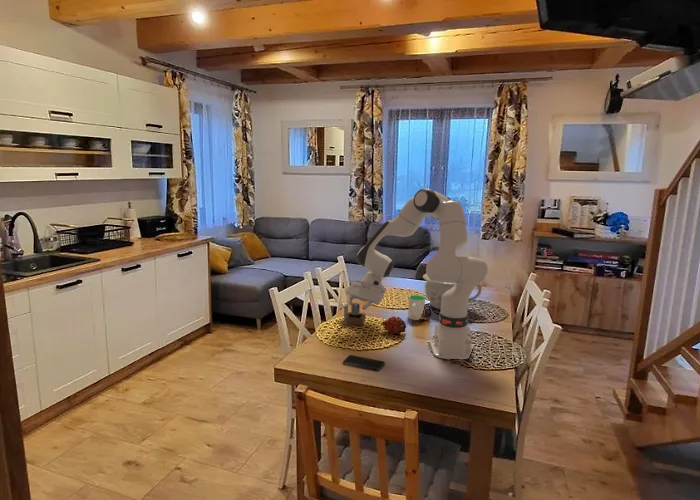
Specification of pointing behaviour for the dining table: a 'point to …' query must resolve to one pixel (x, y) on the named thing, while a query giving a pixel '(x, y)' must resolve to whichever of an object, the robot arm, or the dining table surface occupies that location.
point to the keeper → (353, 320)
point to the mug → (416, 306)
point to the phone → (364, 363)
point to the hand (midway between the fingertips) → (356, 306)
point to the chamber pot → (440, 291)
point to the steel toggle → (355, 310)
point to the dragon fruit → (394, 325)
